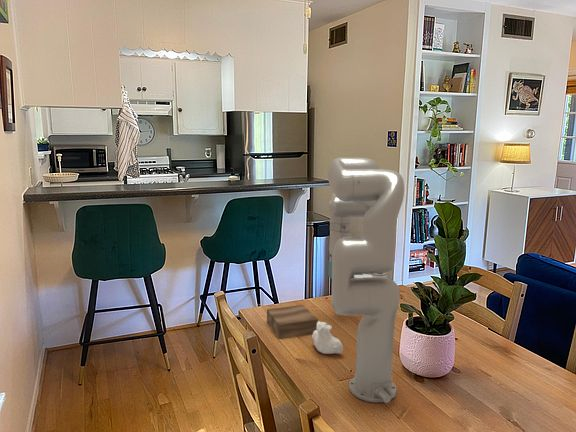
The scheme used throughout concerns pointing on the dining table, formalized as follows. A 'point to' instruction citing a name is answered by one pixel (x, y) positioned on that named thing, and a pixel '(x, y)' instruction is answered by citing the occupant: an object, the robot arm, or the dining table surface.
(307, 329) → the walnut block
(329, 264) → the teal cube
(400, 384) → the dining table surface
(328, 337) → the bust
